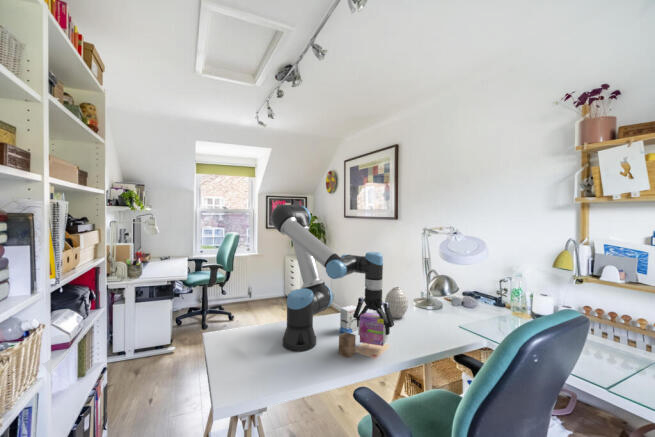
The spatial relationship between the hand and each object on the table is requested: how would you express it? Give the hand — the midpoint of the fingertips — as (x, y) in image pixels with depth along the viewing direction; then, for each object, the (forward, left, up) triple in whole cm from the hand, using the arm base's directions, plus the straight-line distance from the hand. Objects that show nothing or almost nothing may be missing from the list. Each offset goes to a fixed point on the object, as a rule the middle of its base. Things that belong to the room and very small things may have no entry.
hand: (372, 338), depth 131 cm
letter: (0, 0, -5) cm, 5 cm away
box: (0, 0, -2) cm, 2 cm away
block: (-6, -11, -5) cm, 13 cm away
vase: (-8, +44, -5) cm, 45 cm away
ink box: (-18, +10, -5) cm, 21 cm away
